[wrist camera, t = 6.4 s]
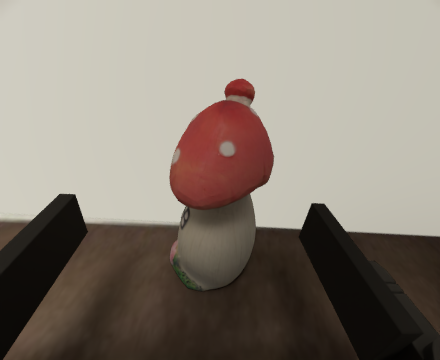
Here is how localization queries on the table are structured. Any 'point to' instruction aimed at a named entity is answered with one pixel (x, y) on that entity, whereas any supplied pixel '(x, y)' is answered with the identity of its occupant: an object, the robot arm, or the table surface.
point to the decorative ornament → (219, 189)
